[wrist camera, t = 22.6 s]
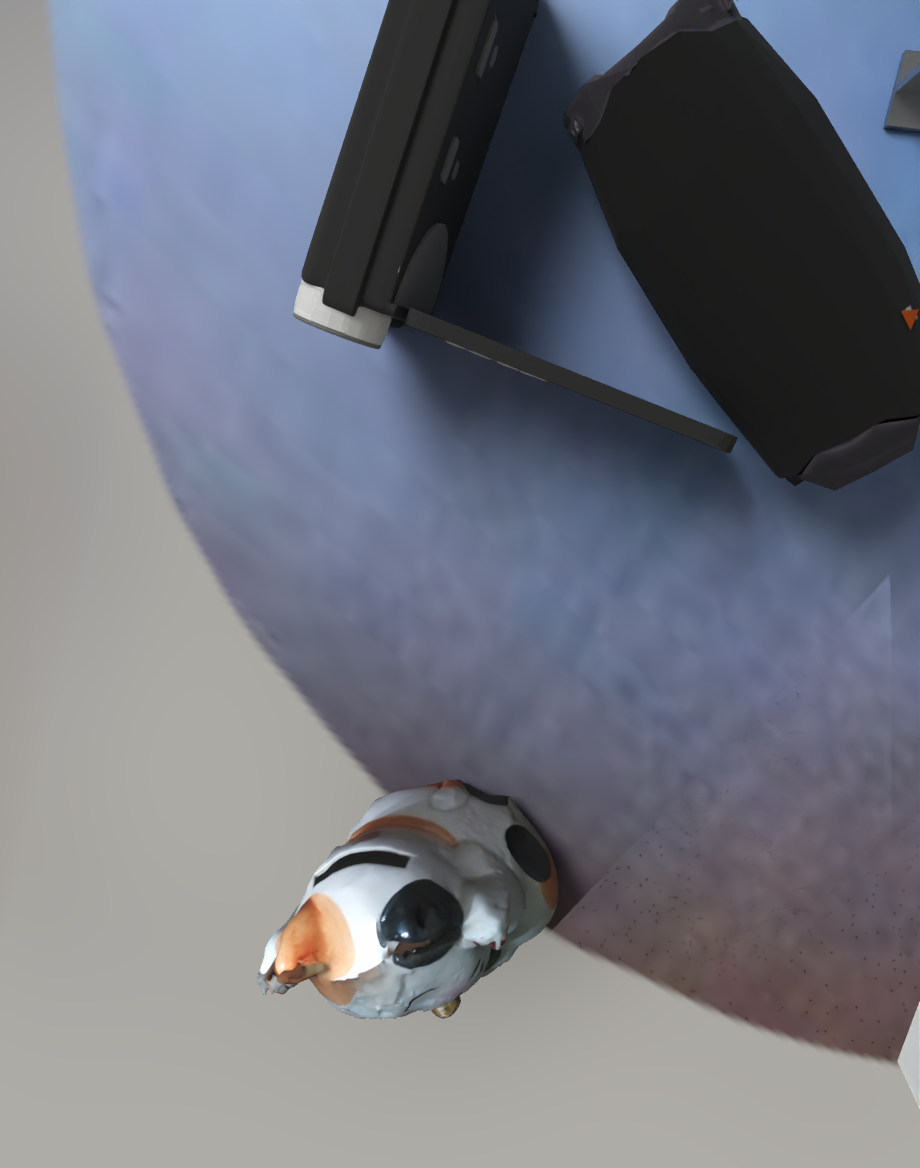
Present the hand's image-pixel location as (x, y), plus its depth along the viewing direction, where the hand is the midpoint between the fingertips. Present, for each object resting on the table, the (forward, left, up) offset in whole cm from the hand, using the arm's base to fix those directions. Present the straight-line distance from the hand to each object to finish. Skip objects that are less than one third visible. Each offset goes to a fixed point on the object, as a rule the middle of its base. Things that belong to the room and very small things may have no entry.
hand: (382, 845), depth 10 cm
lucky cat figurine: (+24, -2, -35) cm, 43 cm away
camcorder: (-13, 0, -35) cm, 37 cm away
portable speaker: (-5, +14, -36) cm, 39 cm away
